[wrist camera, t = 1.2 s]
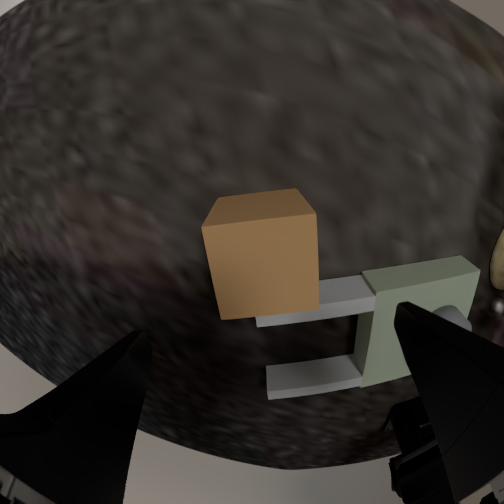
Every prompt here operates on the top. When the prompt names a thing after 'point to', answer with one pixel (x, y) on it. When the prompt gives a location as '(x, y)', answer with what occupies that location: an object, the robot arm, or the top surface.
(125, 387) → the robot arm
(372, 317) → the two-pronged gray clamp
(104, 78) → the top surface
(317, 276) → the cardboard shipping carton
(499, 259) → the hand bell
